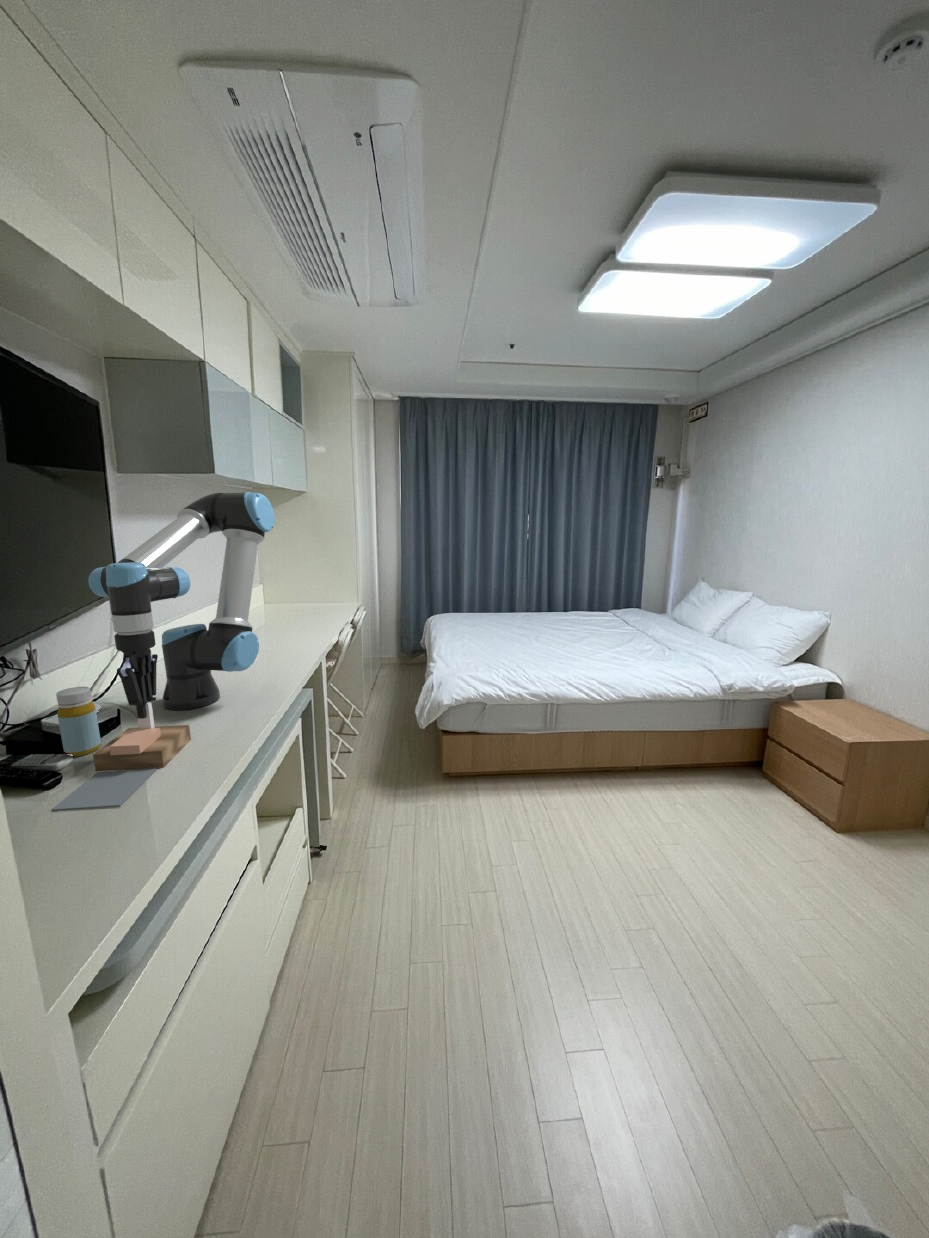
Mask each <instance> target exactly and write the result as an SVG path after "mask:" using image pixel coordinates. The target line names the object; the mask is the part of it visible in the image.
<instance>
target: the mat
mask: <svg viewBox="0 0 929 1238" xmlns="http://www.w3.org/2000/svg"><path fill="white" fill-rule="evenodd" d="M157 769H158V768H149V769H131V770H114V771H96V772H95V773H94V774H92V776H91V777H89V778H88V779H87V780H86V781H84V782H83V783H82V784H80V785H79V787H77V788H76V789H74V790H73V791H72V792H71V793H70V794H68V796H65V798H64V799H62V800H61V801H60V802H58V804H56V805H55V806H54V807H52V808H51V812H61V811H64V812H65V811H75V810H77V811H78V810H79V811H80V810H91V809H93V810H94V809H106V808H107V809H108V808H120V807H122V806H123V805H124V804H125V803H126V802H127V801H128V800H129V799H130V798H131V797H132V796H133V794H135V792H137V791H138V790H139V789H140V788H141V787H142V786H143V785H144V784H145V783H146V782H147V780H149V779H150V778H151V776H153V775H154V774H155V772H156V771H157Z"/></svg>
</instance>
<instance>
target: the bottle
mask: <svg viewBox="0 0 929 1238" xmlns="http://www.w3.org/2000/svg"><path fill="white" fill-rule="evenodd" d="M55 696H56V700H57V706H58V709H57V711H56V712H57V713H56V715H57V721H58V726H59V732H60V736H61V743H62V748H63V753H64V752H65V753H68V754H72V755H73V756H74V757H83V756H86V755H90V754H92V753H96V752H97V751H98V750H100V747H101V746H102V740H101V735H100V729H99V728H100V727H99V723H98V715H97V709H96V705H95V703H94V702H93V701H92V700H93V699H92V692H91V688H90V687H89V686H76V687H75V686H74V687H68V688H64V689H61V690H59V691H58V692H56V694H55ZM65 753H64V754H65Z"/></svg>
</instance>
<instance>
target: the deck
mask: <svg viewBox="0 0 929 1238" xmlns="http://www.w3.org/2000/svg"><path fill="white" fill-rule="evenodd" d="M154 727H155V728H160V733H161V736H160V737H159V738H158V739H157V740H156V741H154V742H153V743H152V744H151V745H150V746H149V747H147V748H146V749H145V750H144V751H143V752H142V753H141V754H124V755H111V754H110V748H109V746H111V745H112V744H113V743H115V742H116V741H117V740H119V739H120V738H121V737H123V736H124V735H125V734H127V733H128V732H129V731H131V730H132V729H139V726H137V727H135V726H134V727H128V728H126V729H125V730H124V731H122V732H121V733H119V734H118V735H117V736H115V738H113V739H112V740H110V741H109V742H108V743H106V744H105V745H104V746H102V747H101V748H99V749H98V750H96V751H95V752H93V754H92V758H93V764H94V770H95V772H104V771H122V770H139V769H163V768H165V767H166V766H167V765H168V764H169V763H170V762H171V761H172V760H173V759H174V758H175V757H176V756H177V755H178V754H179V753H180V752H181V751H182V750H183V749H184V748H185V747H186V746H187V745H188V744H189V743H190V741H191V740H192V737H191V730H190V724H179V725H162V726H159V725H157V726H156V725H154Z"/></svg>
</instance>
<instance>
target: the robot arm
mask: <svg viewBox="0 0 929 1238" xmlns="http://www.w3.org/2000/svg"><path fill="white" fill-rule="evenodd" d="M275 519H276V517H275V511H274V508H273V506H272V503H271V501H270V500H269V499H268V497H266V496H265V495H264V494H262V493H259V492H251V491H246V492H214V493H211V494H207V495H205V496H203V497H200V498H199V499H197V500H194V501H193V502H191V503H189V504H188V505H187V506H185V507H183V508H182V509H181V510H180V511H179V512H178V513H177V515H176V519H173V521H171V522H170V523H168V524H167V525H166V526H165V527H163V528H162V529H160V530H159V531H158V532H157V533H155V534H154V535H153V536H151V537H150V538H149V539H147V540H146V541H144V542H143V543H141V544H140V545H139V546H138V547H137V548H135V549H134V550H133V551H131V552H130V553H128V554H127V555H126V556H124V557H123V558H122V559H120V560H119V561H118V562H115V563H110V564H107V566H103V567H102V566H101V567H97V568H95V569H93V570H92V571H91V572H90V574H89V576H88V586H89V588H90V591H92V593H93V594H94V595H96V596H98V597H102V598H108V600H109V605H110V606H109V607H110V612H111V613H110V614H111V621H112V627H113V632H115V635H114V644H115V649H116V650H117V651H118V652H121V653H123V655H122V667H117V669H116V673H117V675H118V676H119V678H120V680H121V683H122V687H123V691H124V693H125V697H126V701H127V704H128V705H129V706H135V709H136V710H135V712H136V718H137V725H138V726H137V727H139V729H147V728H155V720H154V712H153V704H152V703H153V702H152V701H154V702H155V701H156V700H157V697H156V695H157V663H158V657H159V656H158V654H155V653H153V654H152V650H151V649H153V648H154V647H155V646H156V638H155V637H156V636H155V631H154V630H152V629H154V621H153V613H152V602H157V601H164V600H169V599H176V598H180V597H183V596H184V595H186V594H187V593H188V592H189V591H190V589H191V578H190V576H189V574H188V573H187V572H186V570H184V569H183V568H181V567H178V566H176V567H175V566H174V567H172V566H167V565H168V564H169V563H170V562H171V561H173V560H174V559H175V558H176V557H178V556H179V555H180V554H181V553H182V552H184V551H185V550H186V549H187V548H188V547H190V546H191V544H193V543H195V542H196V541H197V540H198V539H204V538H206V537H208V536H209V535H210V534H213V533H219V532H221V533H222V535H223V536H224V538H225V539H226V542H225V543H226V544H225V551H224V557H223V558H224V559H223V564H222V565H223V566H222V570H221V571H222V573H221V579H220V587H219V593H218V598H217V599H218V601H217V607H216V615H215V618H214V619H213V620H211V621H210V622H208V628H207V626H206V624H205V623H194V624H189V625H187V624H186V625H183V626H178V627H173V628H170V629H167V630H165V631H163V633H161V648H162V656H163V661H164V669H165V675H166V676H165V677H166V683H165V686H164V690H163V694H162V707H164V709H167V710H172V711H187V710H192V709H199V708H203V707H206V706H209V705H211V704H213V703H216V702H217V701H218V700H220V698H221V692H220V688H219V686H218V684H217V683H216V681H215V679H214V677H213V674H212V671H217V672H218V671H219V672H221V671H222V672H229V673H231V672H243V671H245V670H247V669H249V668H250V667H251V666H252V665H253V664H254V662H255V661H256V659H257V656H258V655H259V650H260V642H259V637H258V636H257V634H255V633H254V632H253V626H252V624H251V623H250V622H249V615H250V607H251V599H252V591H253V585H254V579H255V578H254V576H255V570H256V561H257V553H258V546H259V544H261V543H263V541H264V540H265V535H266V533H268V532H270V531H271V532H272V530H273V528H274V527H275V521H276V520H275ZM165 566H167V567H165Z"/></svg>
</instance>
